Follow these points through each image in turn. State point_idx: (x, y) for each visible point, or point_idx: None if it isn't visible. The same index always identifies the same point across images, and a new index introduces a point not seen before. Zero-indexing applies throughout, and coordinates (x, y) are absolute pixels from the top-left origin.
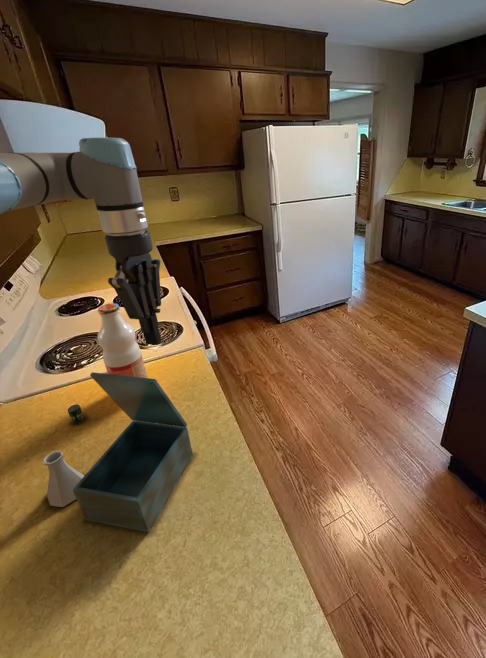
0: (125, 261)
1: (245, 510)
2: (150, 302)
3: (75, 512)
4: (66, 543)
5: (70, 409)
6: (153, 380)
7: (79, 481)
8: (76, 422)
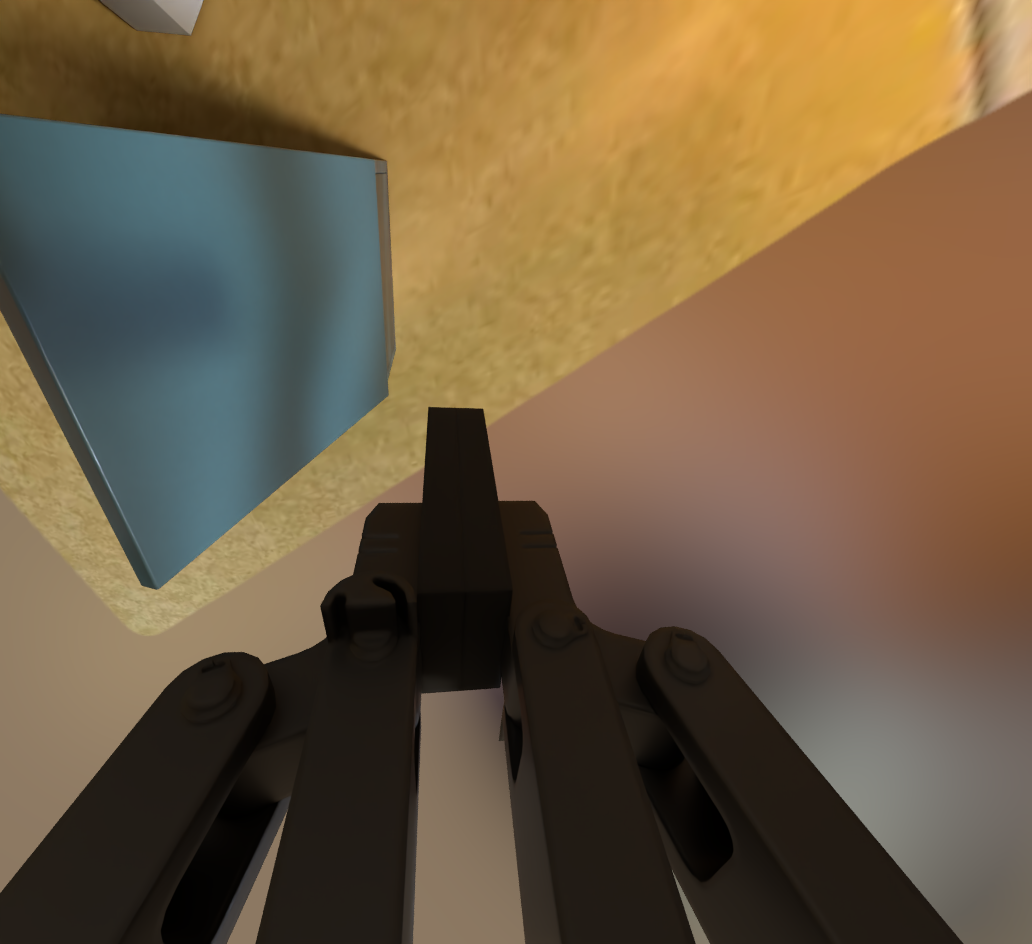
0: None
1: (298, 502)
2: (519, 851)
3: (97, 58)
4: (18, 108)
5: None
6: (147, 583)
7: (146, 5)
8: None
